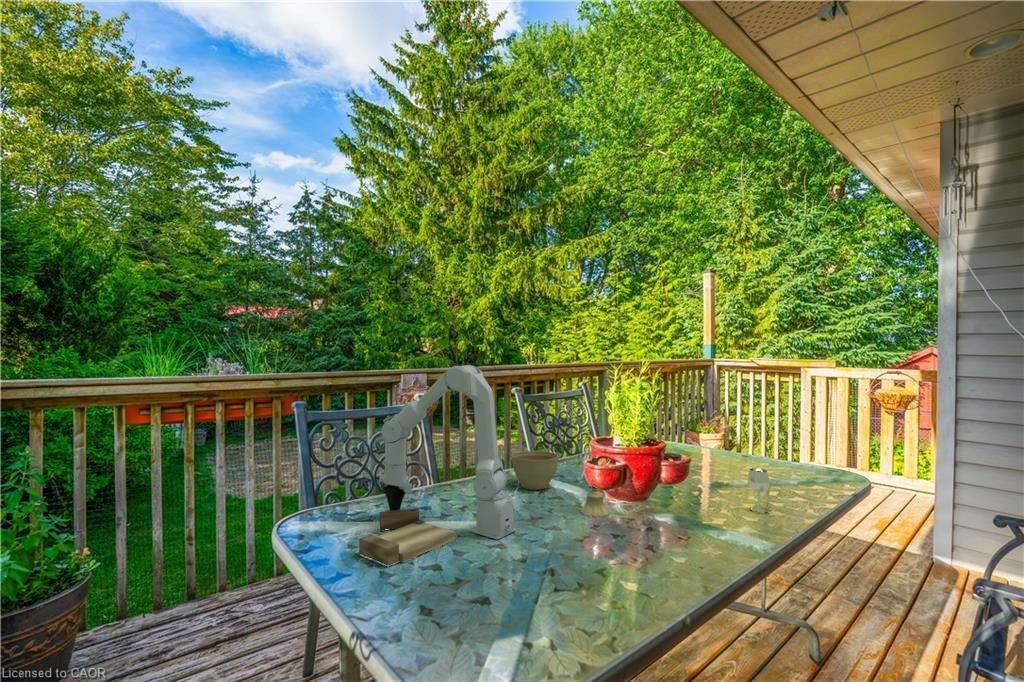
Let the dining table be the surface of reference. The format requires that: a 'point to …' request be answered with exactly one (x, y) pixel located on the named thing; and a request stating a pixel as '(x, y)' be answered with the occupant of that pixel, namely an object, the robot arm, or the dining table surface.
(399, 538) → the stool top
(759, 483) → the wineglass
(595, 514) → the hand bell
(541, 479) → the planter bowl
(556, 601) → the dining table surface
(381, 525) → the folding leg
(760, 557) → the dining table surface
